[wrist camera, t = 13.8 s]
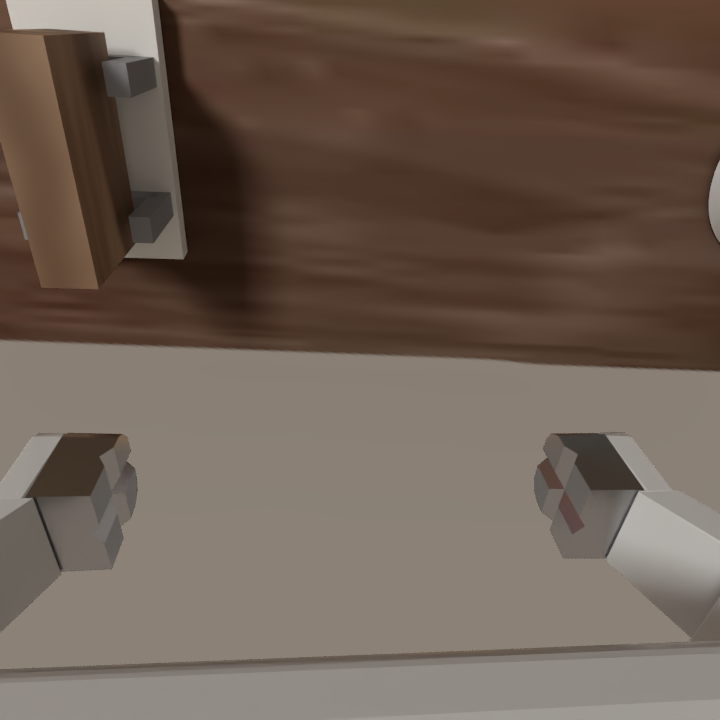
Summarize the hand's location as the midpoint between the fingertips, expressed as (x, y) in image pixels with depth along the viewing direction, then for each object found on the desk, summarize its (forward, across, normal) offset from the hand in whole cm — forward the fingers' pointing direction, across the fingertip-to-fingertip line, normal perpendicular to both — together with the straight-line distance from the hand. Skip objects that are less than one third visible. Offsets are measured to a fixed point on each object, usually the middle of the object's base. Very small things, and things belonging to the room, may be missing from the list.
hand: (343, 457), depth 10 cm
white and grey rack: (+31, +14, 0) cm, 34 cm away
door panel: (+28, +14, 0) cm, 31 cm away
